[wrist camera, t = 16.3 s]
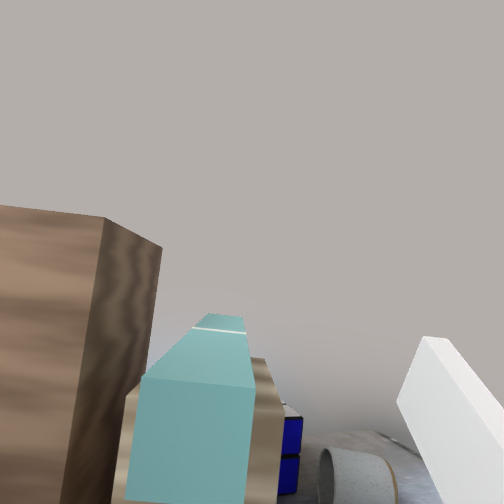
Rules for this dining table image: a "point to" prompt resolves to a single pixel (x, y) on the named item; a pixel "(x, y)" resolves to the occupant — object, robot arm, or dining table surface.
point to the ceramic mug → (354, 478)
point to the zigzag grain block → (261, 444)
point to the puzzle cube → (290, 451)
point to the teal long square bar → (195, 419)
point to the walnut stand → (69, 350)
